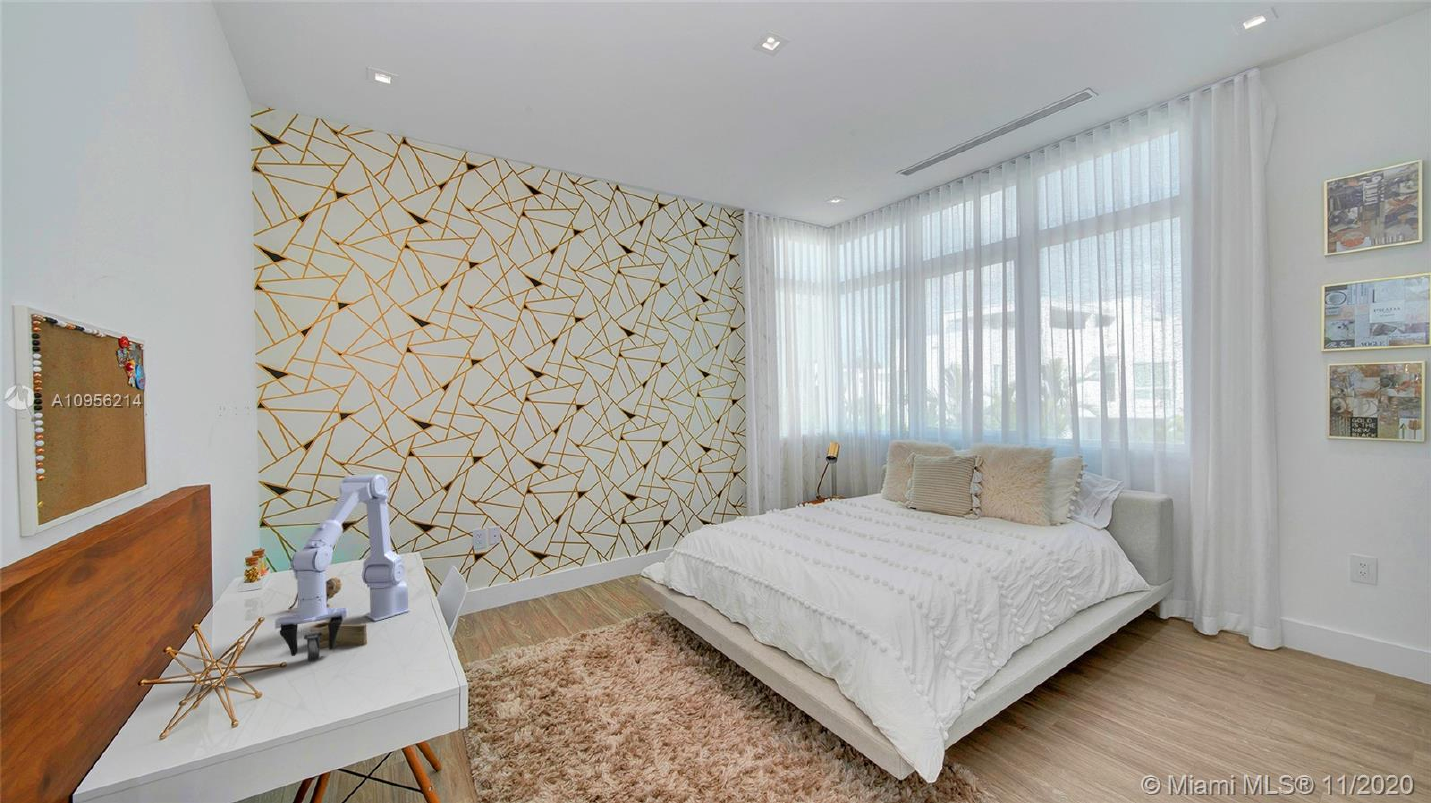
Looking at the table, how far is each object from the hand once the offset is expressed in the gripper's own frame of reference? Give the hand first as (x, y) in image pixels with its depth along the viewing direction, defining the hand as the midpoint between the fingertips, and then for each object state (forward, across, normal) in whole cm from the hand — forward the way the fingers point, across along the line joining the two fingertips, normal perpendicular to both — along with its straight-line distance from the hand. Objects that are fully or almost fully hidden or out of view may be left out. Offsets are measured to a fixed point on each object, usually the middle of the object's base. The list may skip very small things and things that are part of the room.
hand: (313, 650), depth 134 cm
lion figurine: (+2, -8, +42) cm, 43 cm away
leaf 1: (+2, +1, +14) cm, 14 cm away
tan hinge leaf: (+2, +4, +7) cm, 8 cm away
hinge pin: (+2, 0, 0) cm, 2 cm away
